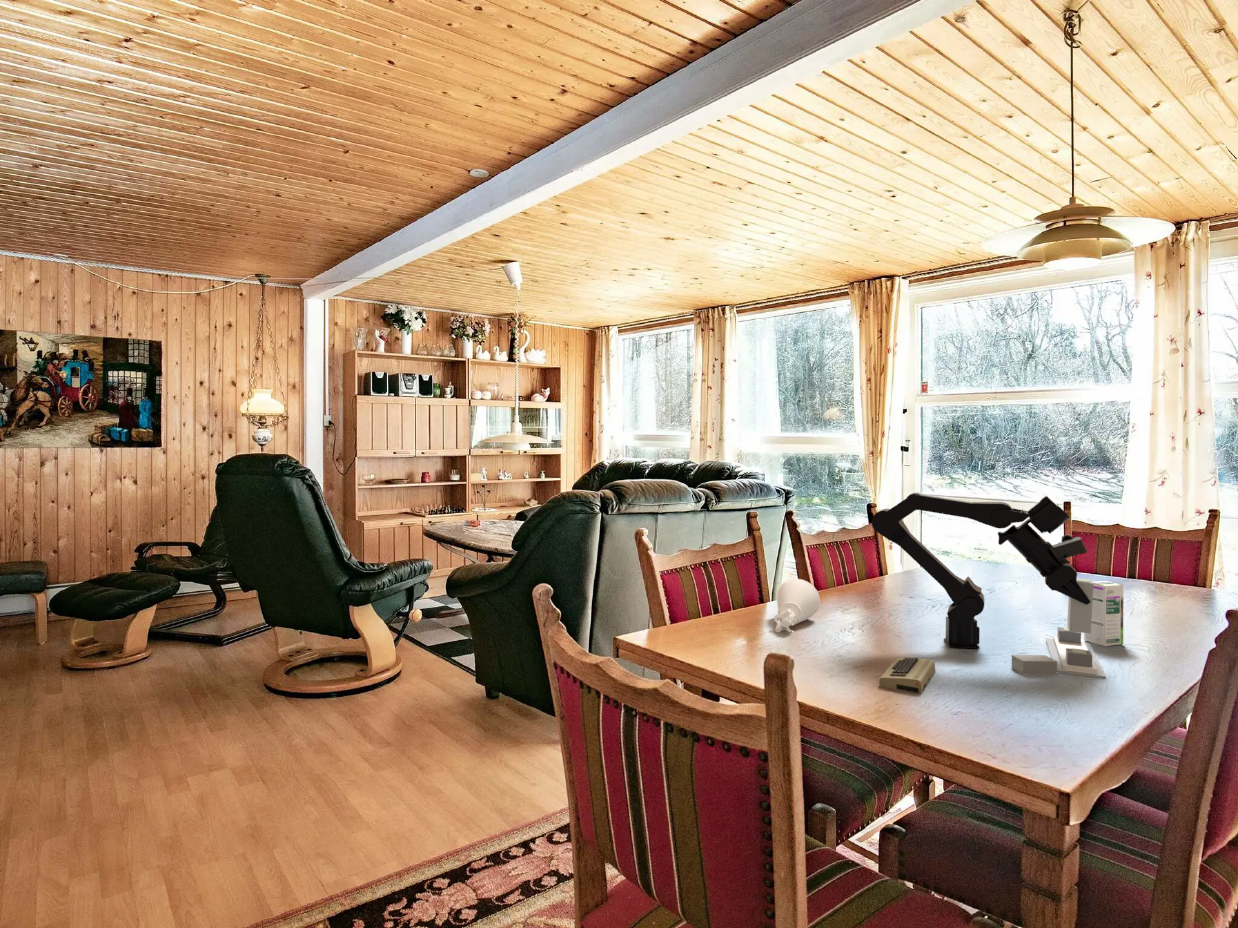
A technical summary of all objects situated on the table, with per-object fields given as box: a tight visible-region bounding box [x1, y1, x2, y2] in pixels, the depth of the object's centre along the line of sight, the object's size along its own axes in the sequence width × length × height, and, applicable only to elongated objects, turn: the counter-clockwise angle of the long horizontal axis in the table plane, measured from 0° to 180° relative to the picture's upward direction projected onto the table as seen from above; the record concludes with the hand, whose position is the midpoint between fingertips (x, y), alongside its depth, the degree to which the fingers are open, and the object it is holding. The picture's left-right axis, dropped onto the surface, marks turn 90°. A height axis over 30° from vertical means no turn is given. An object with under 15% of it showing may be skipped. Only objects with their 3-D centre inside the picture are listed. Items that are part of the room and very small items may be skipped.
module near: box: [1066, 648, 1092, 668], centre depth 156 cm, size 4×4×3 cm
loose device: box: [1011, 654, 1058, 675], centre depth 155 cm, size 7×4×3 cm, turn 89°
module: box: [1066, 577, 1094, 634], centre depth 164 cm, size 4×5×11 cm
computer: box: [878, 657, 936, 695], centre depth 150 cm, size 16×8×3 cm, turn 148°
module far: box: [1056, 626, 1082, 644], centre depth 174 cm, size 4×4×3 cm
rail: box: [1045, 635, 1107, 679], centre depth 165 cm, size 9×28×1 cm, turn 153°
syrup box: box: [1083, 580, 1124, 647], centre depth 177 cm, size 6×6×14 cm
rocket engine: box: [773, 578, 821, 633], centre depth 193 cm, size 12×12×18 cm
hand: (1087, 600), depth 163 cm, fingers closed on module, 5 cm apart
